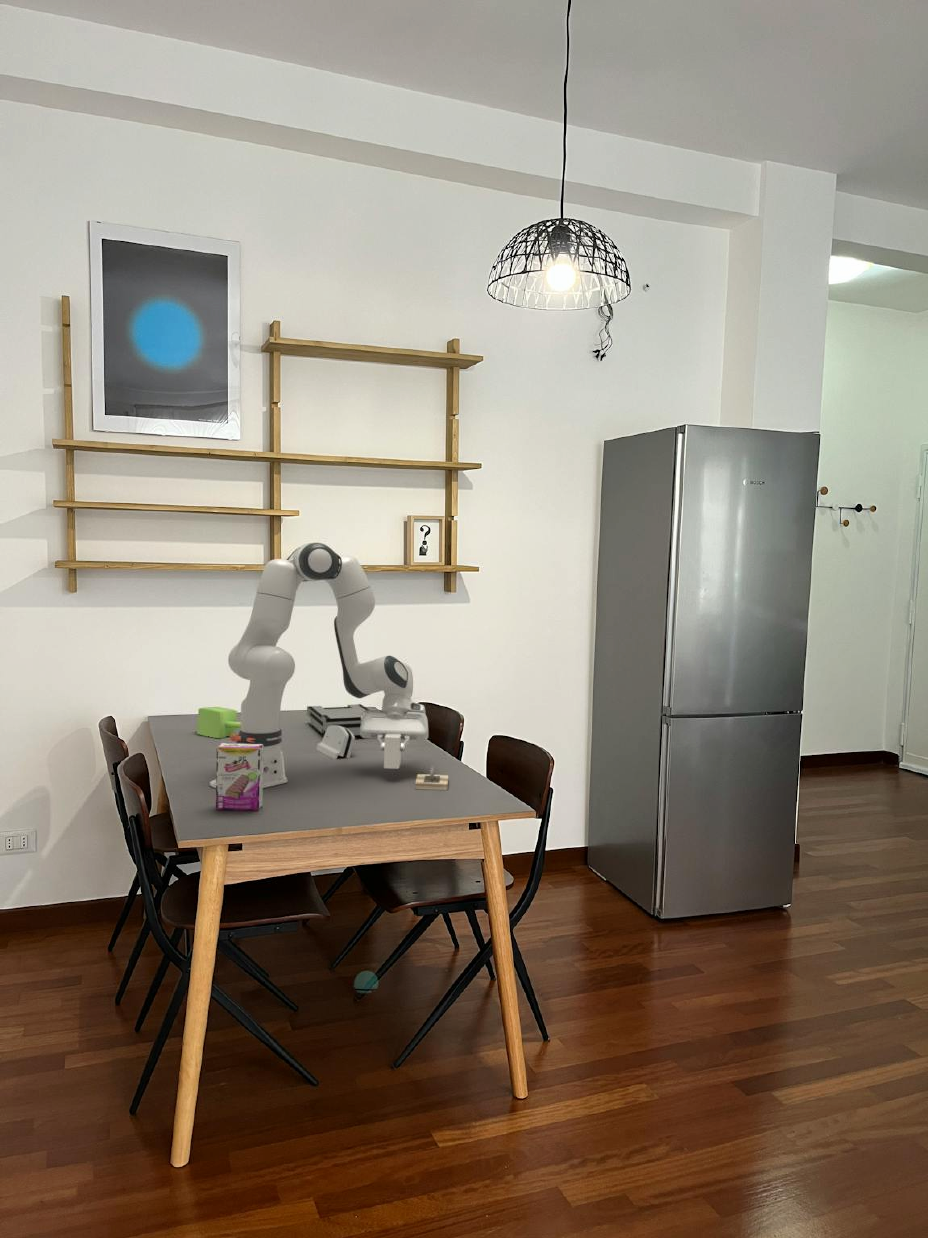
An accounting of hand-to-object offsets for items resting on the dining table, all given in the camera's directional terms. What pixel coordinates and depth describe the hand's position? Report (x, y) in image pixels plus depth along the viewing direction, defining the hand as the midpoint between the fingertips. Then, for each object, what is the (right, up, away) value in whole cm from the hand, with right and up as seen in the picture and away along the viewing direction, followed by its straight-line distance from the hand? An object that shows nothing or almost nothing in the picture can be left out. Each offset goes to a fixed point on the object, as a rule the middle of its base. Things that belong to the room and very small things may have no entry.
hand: (392, 749), depth 271 cm
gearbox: (-65, -3, +56) cm, 86 cm away
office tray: (-23, -3, +69) cm, 73 cm away
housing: (0, -5, +1) cm, 5 cm away
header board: (+12, -9, -4) cm, 16 cm away
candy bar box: (-37, -11, -32) cm, 50 cm away
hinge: (-21, -6, +33) cm, 39 cm away
